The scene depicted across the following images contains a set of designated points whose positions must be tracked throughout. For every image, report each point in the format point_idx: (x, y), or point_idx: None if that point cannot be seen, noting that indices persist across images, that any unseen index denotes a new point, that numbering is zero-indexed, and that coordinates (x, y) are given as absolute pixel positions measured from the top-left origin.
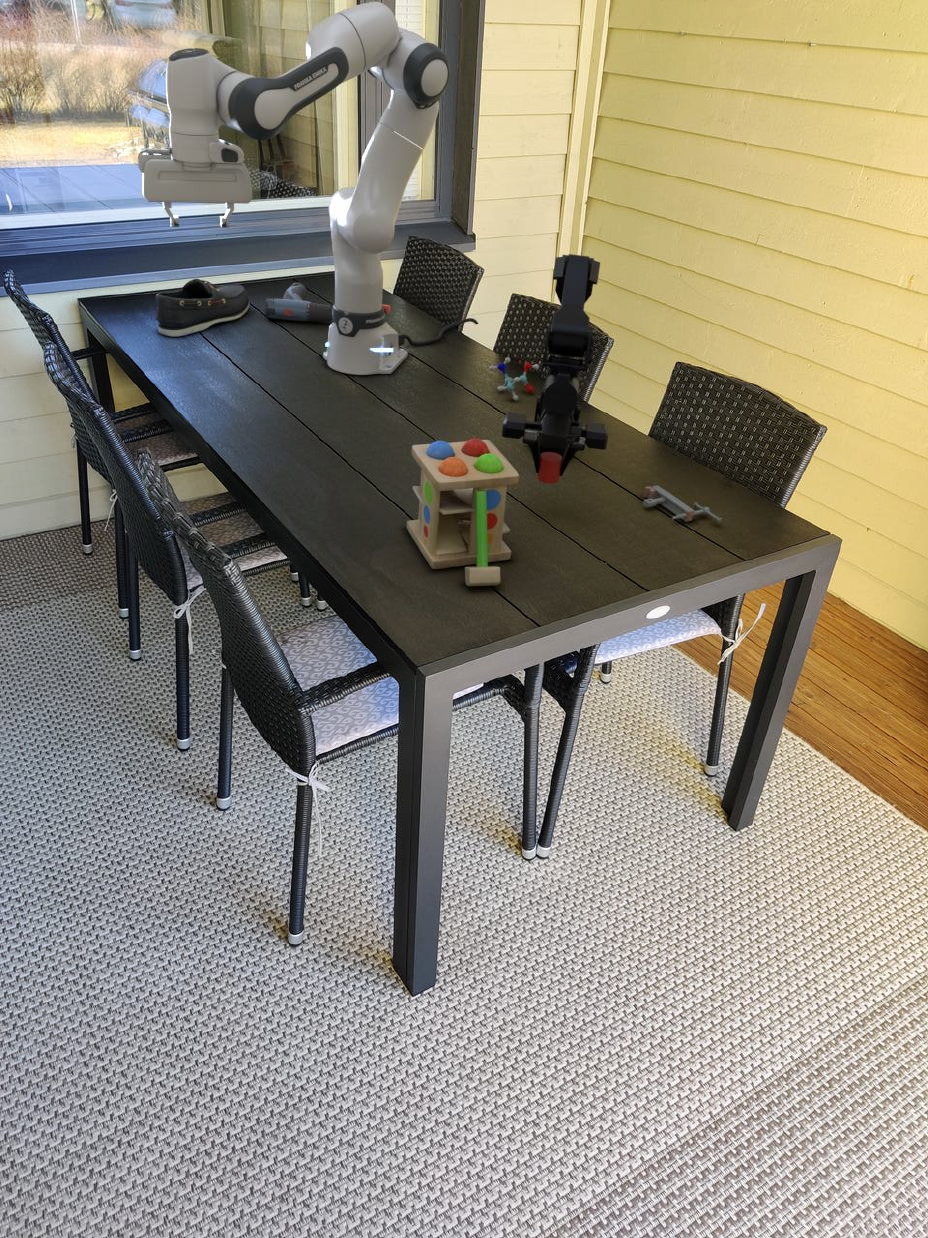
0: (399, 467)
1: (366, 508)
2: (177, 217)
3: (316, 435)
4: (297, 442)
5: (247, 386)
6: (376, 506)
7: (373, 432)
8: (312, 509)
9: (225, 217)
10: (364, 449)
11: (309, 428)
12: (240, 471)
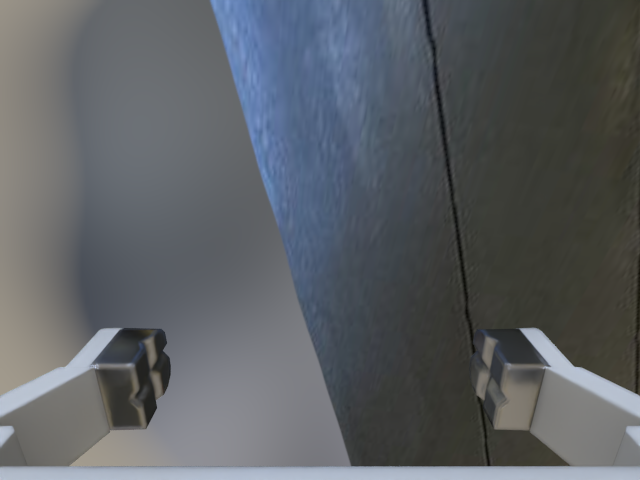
0: None
1: None
2: (136, 417)
3: (466, 296)
4: (429, 315)
5: (406, 56)
6: None
7: (559, 297)
8: None
9: (533, 427)
10: None
11: (464, 270)
12: (330, 383)
